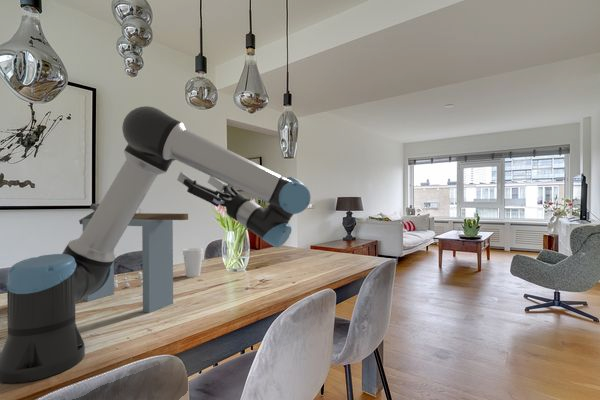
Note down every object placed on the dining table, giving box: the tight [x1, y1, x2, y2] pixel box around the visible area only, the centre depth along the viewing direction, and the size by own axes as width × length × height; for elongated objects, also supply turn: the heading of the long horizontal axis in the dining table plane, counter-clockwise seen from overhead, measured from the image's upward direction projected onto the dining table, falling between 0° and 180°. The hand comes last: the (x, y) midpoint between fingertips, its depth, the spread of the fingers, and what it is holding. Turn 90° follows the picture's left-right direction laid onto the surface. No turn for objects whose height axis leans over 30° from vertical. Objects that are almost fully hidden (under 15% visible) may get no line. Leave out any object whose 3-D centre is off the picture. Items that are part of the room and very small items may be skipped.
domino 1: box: [78, 210, 95, 225], centre depth 121 cm, size 5×2×10 cm
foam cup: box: [182, 247, 204, 278], centre depth 154 cm, size 10×9×13 cm
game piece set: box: [114, 271, 143, 289], centre depth 142 cm, size 19×20×4 cm
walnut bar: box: [132, 212, 189, 221], centre depth 108 cm, size 3×24×2 cm, turn 66°
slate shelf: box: [82, 219, 174, 313], centre depth 114 cm, size 10×34×30 cm, turn 66°
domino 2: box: [89, 203, 99, 212], centre depth 119 cm, size 5×2×10 cm
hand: (195, 177), depth 101 cm, fingers open, 13 cm apart
